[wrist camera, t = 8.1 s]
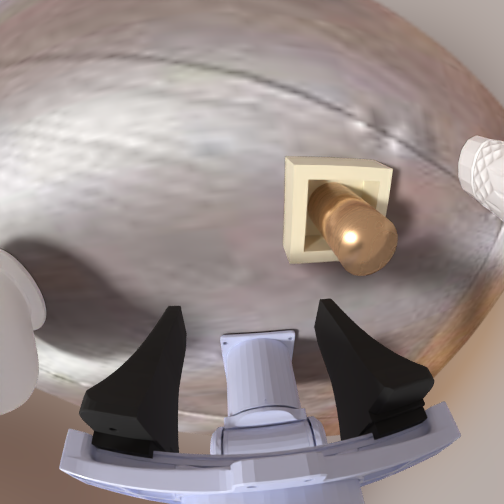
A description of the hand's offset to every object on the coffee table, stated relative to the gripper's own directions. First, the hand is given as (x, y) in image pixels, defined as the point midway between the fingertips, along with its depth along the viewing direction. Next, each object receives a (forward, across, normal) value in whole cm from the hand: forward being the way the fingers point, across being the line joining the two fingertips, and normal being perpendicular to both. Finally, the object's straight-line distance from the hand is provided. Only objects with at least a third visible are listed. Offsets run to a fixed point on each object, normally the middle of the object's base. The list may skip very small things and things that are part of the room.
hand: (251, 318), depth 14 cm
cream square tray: (+10, -7, -3) cm, 12 cm away
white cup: (+10, -24, -8) cm, 28 cm away
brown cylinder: (+9, -7, -2) cm, 12 cm away
